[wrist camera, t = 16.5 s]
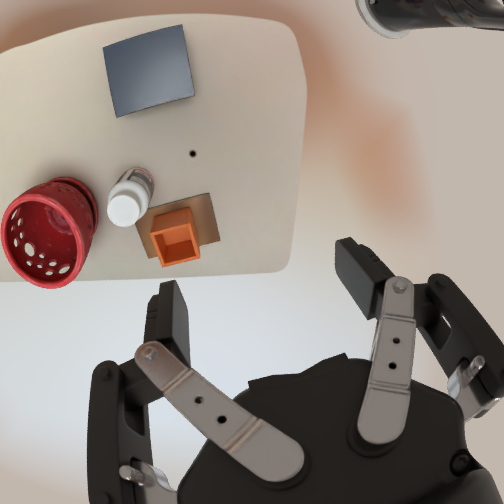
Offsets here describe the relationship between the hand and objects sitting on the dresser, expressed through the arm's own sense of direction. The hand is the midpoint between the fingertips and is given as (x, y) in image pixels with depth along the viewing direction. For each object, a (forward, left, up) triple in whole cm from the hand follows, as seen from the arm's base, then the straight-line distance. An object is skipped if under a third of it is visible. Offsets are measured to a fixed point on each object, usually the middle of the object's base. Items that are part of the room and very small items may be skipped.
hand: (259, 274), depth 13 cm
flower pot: (+24, +2, -28) cm, 37 cm away
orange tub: (+8, +10, -28) cm, 30 cm away
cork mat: (+8, +10, -28) cm, 31 cm away
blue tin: (+6, -13, -28) cm, 32 cm away
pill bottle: (+12, +2, -28) cm, 31 cm away
